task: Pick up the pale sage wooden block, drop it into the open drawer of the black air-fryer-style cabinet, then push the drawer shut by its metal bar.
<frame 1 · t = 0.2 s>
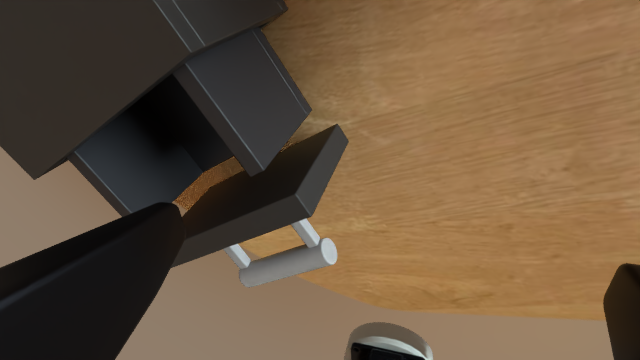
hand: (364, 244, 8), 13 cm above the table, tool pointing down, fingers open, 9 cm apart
drawer: (206, 144, 19), point 4 cm above the table, slide at 6.0 cm
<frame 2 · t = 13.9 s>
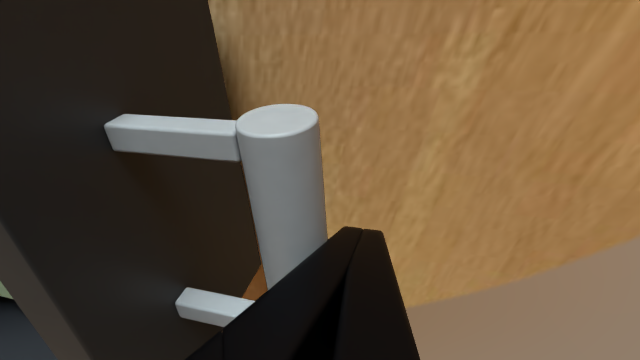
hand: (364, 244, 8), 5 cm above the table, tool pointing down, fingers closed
drawer: (52, 191, 11), point 4 cm above the table, slide at 5.2 cm, touching block, gripper
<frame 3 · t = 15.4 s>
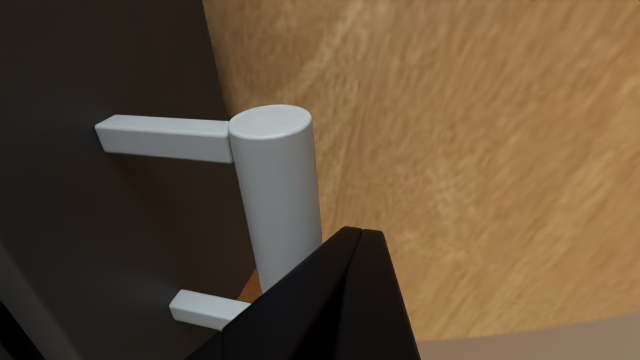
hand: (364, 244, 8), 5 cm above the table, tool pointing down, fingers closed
drawer: (45, 192, 10), point 4 cm above the table, slide at 0.7 cm, touching block
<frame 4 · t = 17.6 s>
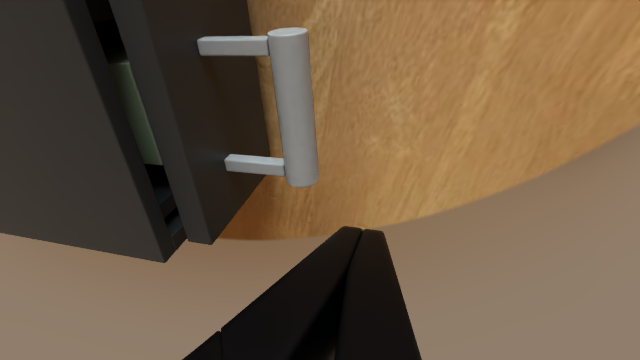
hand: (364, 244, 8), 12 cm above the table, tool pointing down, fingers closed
drawer: (145, 98, 17), point 4 cm above the table, slide at 0.7 cm, touching block
cabinet: (129, 70, 22), on the table
block: (166, 83, 19), point 2 cm above the table, touching drawer
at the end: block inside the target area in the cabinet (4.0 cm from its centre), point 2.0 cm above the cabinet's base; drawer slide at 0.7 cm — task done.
